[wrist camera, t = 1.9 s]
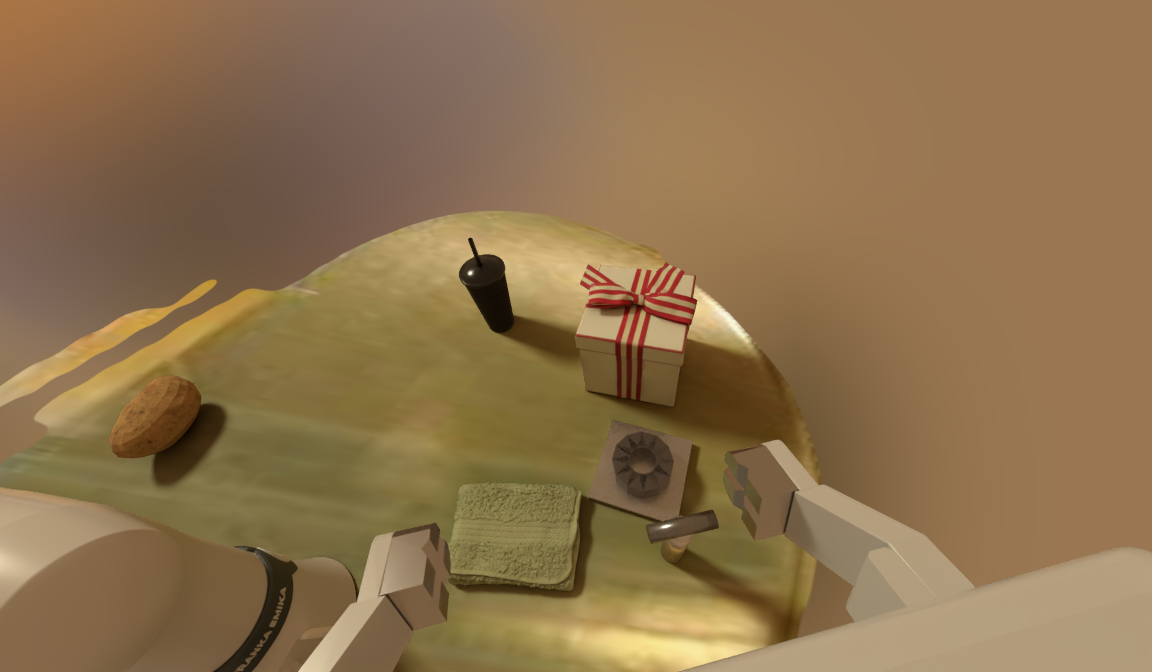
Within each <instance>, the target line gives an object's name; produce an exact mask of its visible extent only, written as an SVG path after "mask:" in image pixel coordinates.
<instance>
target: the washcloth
mask: <svg viewBox="0 0 1152 672" xmlns="http://www.w3.org/2000/svg"><path fill="white" fill-rule="evenodd" d="M581 497H582V492H581V491H578V489H576V488H573V487H569V486H568V485H566V484H564V485H559V484H557V485H549V484H546V485H538V484H537V485H533V484H532V485H531V484H529V485H528V484H520V483H519V484H515V483H505V484H503V483H502V484H501V483H498V482H494V483H492V482H488V483H479V484H475V483H474V484H473V483H472V484H465V485H463V486H462V487H460V488H459V493H458V499H457V508H456V512H455V515H454V522H455V525H454V528H453V533H452V538H451V542H449V543H448V548H449V551H450V560H451V572H450V577H449V579H448V581H449V582H450V583H451V584H452V585H456V584H459V585H460V584H462V585H464V586H466V585H471V584H473V585H477V584H483V583H484V584H494V585H495V584H498V585H500V584H511V585H513V584H516V585H517V586H519V585H520V586H521V585H522V586H524V585H526V586H531V587H539V588H541V589H544V588H546V589H552V588H553V589H555V590H561V591H562V590H565V591H570V590H573V586H574V576H575V568H576V562H577V556H578V550H579V544H580V529H579V524H578V523H579V512H580V503H581Z"/></svg>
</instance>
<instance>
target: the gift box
mask: <svg viewBox="0 0 1152 672" xmlns="http://www.w3.org/2000/svg"><path fill="white" fill-rule="evenodd" d="M695 280H696V276H695V275H686V274H684V271H683V270H681V269H679V268H676V267H674V266H671V265H669V264H668V263H665V264H664V266H663V267H662V268H660V269H659V270H658V271H651V270H642V269H632V268H623V267H614V266H605V265H600V268H599V271H597V270H596V269H594V268H593V267H592V266H590V265H588V266H587V268H586V271H585V273H584V275H583V278H582V280H581V283H580V284H581V285H582V286H583V287H585V288H587V289H589V290H590V291H589V298H588V301H587V304H586V307H585V310H584V313H583V315H582V318H581V321H580V323H579V326H578V329H577V332H576V334H575V340H576V347H577V349H580V356H581V362H582V368H583V375H584V382H585V389H586V390H587V391H592V392H597V393H603V394H608V395H613V396H617V397H618V398H629V399H633V400H637V401H644V402H649V403H654V404H660V405H665V406H670V407H673V406H674V402H675V397H676V390H677V383H678V378H679V375H680V371H681V366H682V365H683V359H684V352H685V346H686V339H687V334H688V331H689V327H690V325H691V323H692V319H693V316H694V312H695V308H696V304H697V300H696V299H694V298H693V294H694V288H695Z"/></svg>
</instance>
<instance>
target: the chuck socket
mask: <svg viewBox="0 0 1152 672" xmlns="http://www.w3.org/2000/svg"><path fill="white" fill-rule="evenodd" d="M692 442H693V441H690V440H687V439H683V438H679V437H675V436H672V435H668V434H664V433H660V432H657V431H653V430H649V429H645V428H642V427H638V426H634V425H630V424H627V423H623V422H619V421H615V420H612V424H611V427H610V430H609V433H608V436H607V439H606V443H605V446H604V449H603V452H602V455H601V458H600V462H599V465H598V468H597V471H596V474H595V478H594V481H593V484H592V487H591V490H590V493H589V499H590V500H593V501H596V502H599V503H602V504H605V505H609V506H612V507H615V508H618V509H621V510H624V511H627V512H630V513H633V514H636V515H639V516H642V517H645V518H648V519H651V520H655V521H658V522H661V521H665V520H670V519H672V518H673V517H675V516H678V515H679V511H680V506H681V501H682V495H683V490H684V485H685V479H686V474H687V469H688V463H689V458H690V453H691V447H692Z"/></svg>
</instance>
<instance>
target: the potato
mask: <svg viewBox="0 0 1152 672" xmlns="http://www.w3.org/2000/svg"><path fill="white" fill-rule="evenodd" d="M200 404H201V395H200V393H199V391H198V390H197V388H196V387H195V385H194V384H193V383H191V382H189V381H187V380H186V379H183V378H181V377H178V376H173V375H169V376H163V377H157V378H156V379H154V380H153V381H152V382H150V383H149V384H148V385H147V386H146V387H145V388H144V389H143V390H142V391H141V392H140V393H139V394H138V395H137V396H136V397H135V398H134V399H133V400H132V401H131V402H129V403H128V404H127V405H126V406H125V407H124V408H123V410H122V412H121V413H120V415H119V417H118V419H117V422H116V424H115V426H114V427H113V429H112V431H111V435H110V439H109V442H110V445H111V448H112V450H113V452H114V453H115V454H116V455H117V456H118V457H121V458H139V457H145V456H149V455H152V454H155V453H158V452H160V451H163V450H165V449H167V448H169V447H170V446H172V445H173V444H175V443H176V442H177V441H178V440H179V439H180V438H181V437H182V436H183V435H184V433H185V432H186V431H187V430H188V429H189V428H190V426H191V425H192V423H193V422H194V420H195V419H196V417H197V414H198V412H199V408H200Z"/></svg>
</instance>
